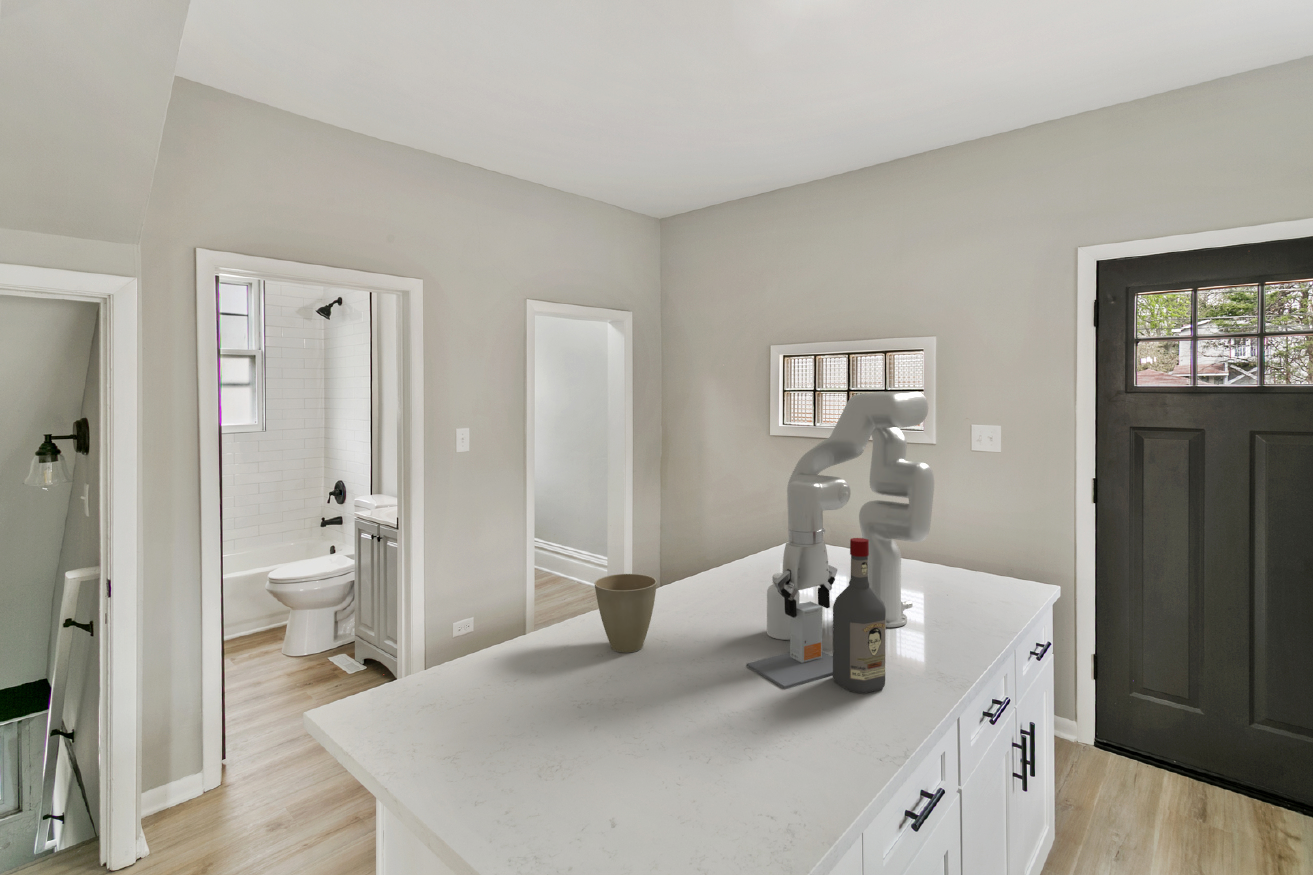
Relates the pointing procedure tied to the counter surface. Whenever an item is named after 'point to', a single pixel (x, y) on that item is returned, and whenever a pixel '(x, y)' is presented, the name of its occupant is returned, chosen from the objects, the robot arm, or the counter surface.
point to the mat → (792, 669)
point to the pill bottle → (778, 612)
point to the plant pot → (626, 609)
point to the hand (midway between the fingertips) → (807, 610)
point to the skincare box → (806, 632)
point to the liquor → (859, 629)
